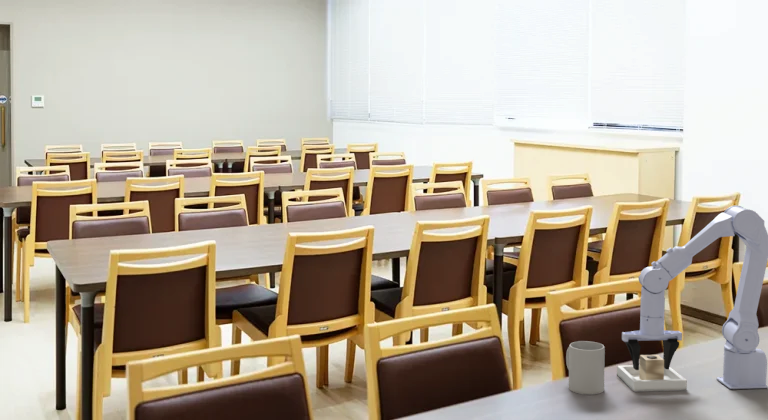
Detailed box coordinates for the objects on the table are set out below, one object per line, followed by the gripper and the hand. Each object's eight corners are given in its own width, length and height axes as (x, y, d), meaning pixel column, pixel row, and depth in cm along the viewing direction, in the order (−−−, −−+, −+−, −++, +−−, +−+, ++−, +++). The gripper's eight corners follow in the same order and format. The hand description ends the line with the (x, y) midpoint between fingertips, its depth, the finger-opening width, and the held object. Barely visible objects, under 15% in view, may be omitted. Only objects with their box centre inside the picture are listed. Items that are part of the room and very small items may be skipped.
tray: (666, 373, 216) (666, 364, 216) (686, 390, 204) (686, 380, 203) (616, 375, 216) (617, 365, 216) (633, 391, 203) (634, 381, 203)
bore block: (656, 377, 212) (657, 354, 211) (663, 383, 207) (664, 359, 207) (639, 378, 212) (639, 354, 211) (645, 383, 207) (646, 359, 206)
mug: (611, 391, 203) (612, 347, 202) (582, 397, 200) (583, 352, 199) (580, 377, 214) (581, 336, 213) (553, 382, 211) (553, 340, 210)
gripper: (674, 310, 212) (673, 362, 214) (618, 312, 211) (617, 364, 213) (686, 317, 205) (684, 371, 207) (627, 318, 204) (626, 372, 206)
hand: (651, 368), depth 209 cm, fingers open, 7 cm apart
